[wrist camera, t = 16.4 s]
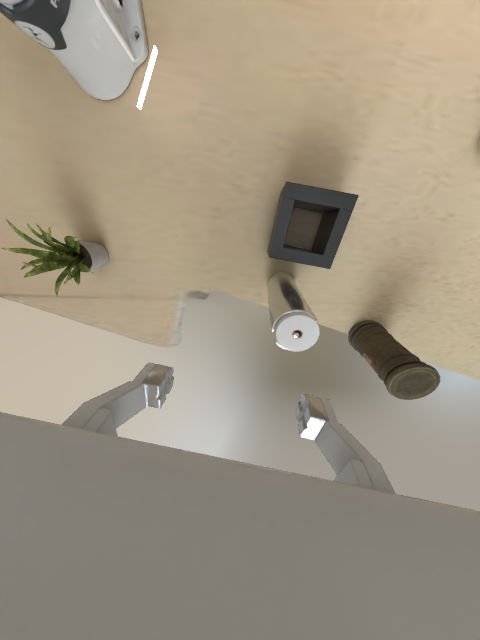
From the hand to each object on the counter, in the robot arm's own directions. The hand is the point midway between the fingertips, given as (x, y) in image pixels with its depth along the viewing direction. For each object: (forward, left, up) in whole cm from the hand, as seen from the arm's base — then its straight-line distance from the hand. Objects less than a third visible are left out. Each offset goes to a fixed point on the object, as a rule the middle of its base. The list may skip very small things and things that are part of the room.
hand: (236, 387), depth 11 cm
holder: (-11, +8, -38) cm, 40 cm away
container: (+11, +33, -38) cm, 52 cm away
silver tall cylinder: (+3, +7, -38) cm, 39 cm away
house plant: (+2, -41, -38) cm, 56 cm away
